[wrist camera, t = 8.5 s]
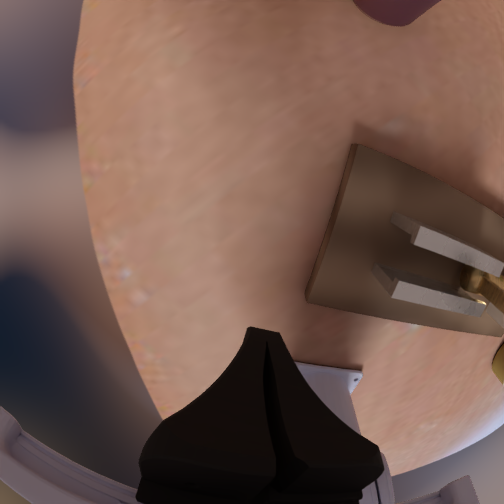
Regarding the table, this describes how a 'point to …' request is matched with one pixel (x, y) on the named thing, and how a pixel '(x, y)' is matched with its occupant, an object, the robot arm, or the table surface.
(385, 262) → the base board
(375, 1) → the beverage can
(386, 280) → the sleeve
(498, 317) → the socket block
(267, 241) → the table surface
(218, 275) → the table surface
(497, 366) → the brown tall cylinder
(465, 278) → the sliding latch bolt
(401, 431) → the table surface
